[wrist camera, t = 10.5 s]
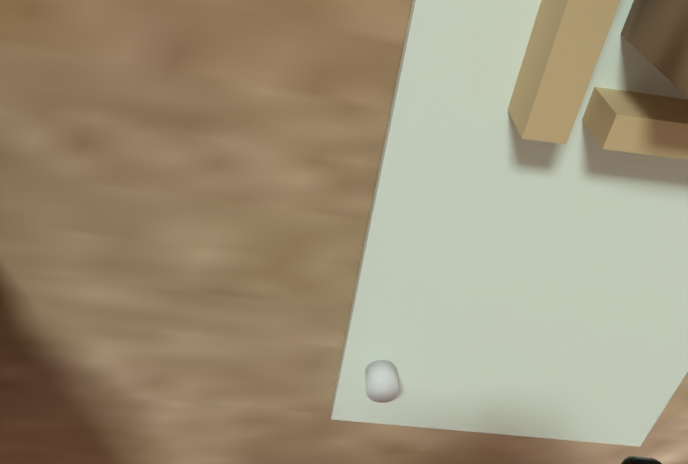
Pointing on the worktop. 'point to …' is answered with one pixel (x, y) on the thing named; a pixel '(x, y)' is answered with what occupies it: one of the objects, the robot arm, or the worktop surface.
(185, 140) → the worktop surface
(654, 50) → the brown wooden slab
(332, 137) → the worktop surface
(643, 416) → the wall board
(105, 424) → the worktop surface
